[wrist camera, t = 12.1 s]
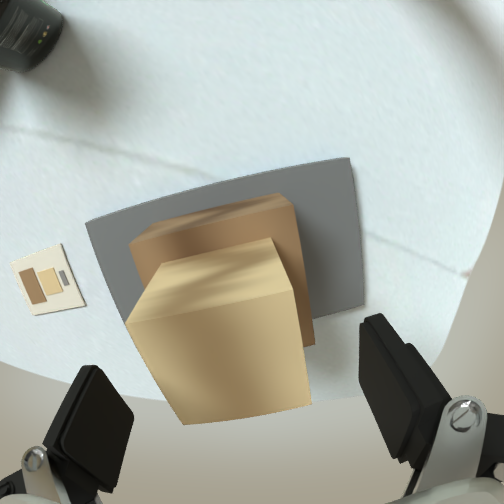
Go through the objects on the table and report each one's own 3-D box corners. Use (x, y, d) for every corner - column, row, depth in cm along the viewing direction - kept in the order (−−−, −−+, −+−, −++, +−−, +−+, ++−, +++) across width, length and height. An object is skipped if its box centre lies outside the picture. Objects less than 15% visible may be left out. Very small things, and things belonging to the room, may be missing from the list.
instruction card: (60, 243, 20) (59, 244, 20) (85, 304, 22) (84, 306, 22) (10, 262, 20) (9, 263, 20) (33, 314, 22) (31, 315, 22)
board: (343, 157, 19) (349, 157, 18) (359, 298, 23) (364, 304, 22) (91, 219, 20) (84, 223, 19) (141, 344, 24) (138, 351, 23)
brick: (278, 192, 19) (293, 204, 14) (299, 306, 22) (315, 344, 17) (152, 223, 19) (128, 244, 14) (189, 329, 22) (180, 370, 17)
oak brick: (270, 237, 15) (293, 289, 9) (290, 330, 17) (311, 404, 11) (161, 263, 15) (124, 323, 9) (195, 350, 17) (183, 424, 11)
